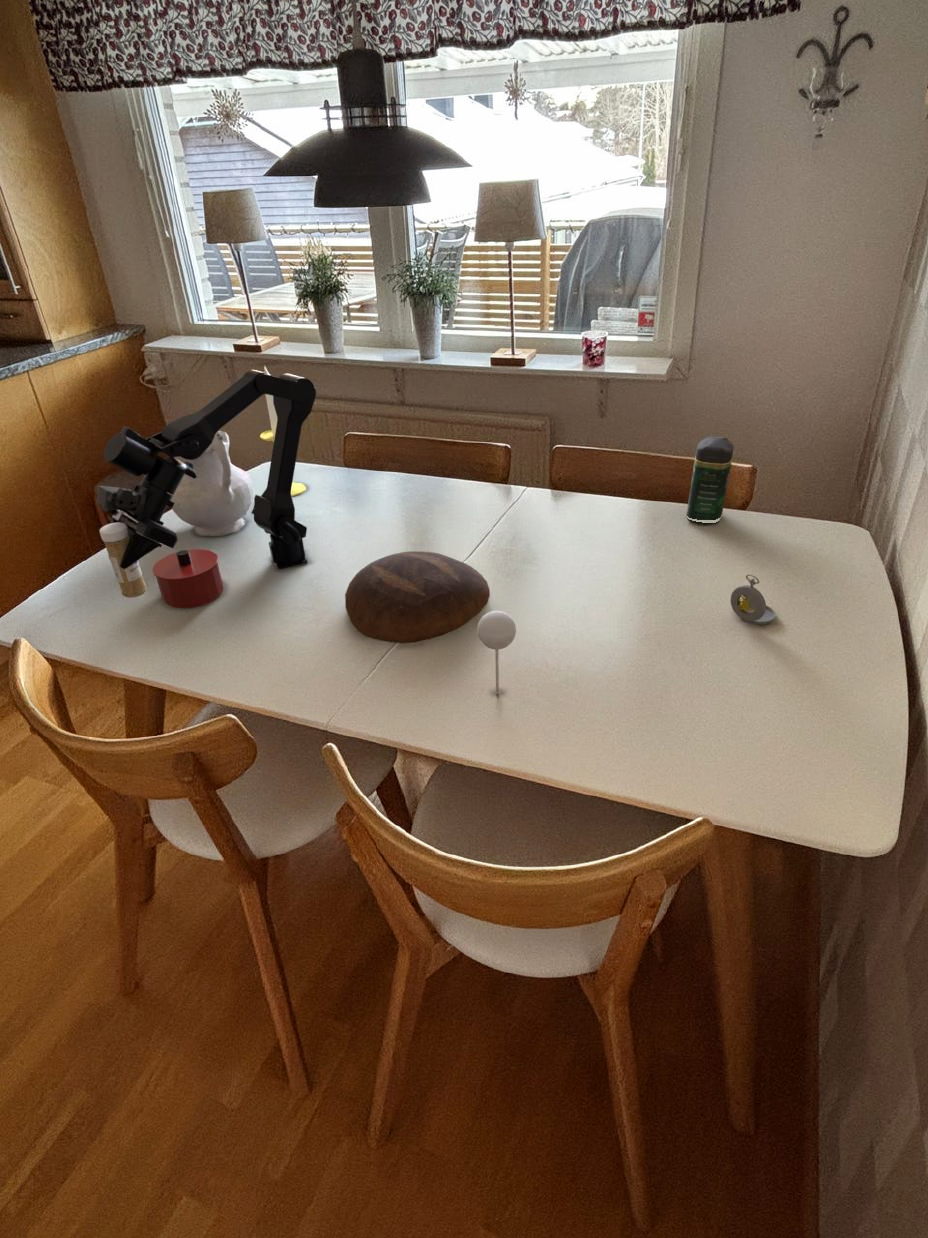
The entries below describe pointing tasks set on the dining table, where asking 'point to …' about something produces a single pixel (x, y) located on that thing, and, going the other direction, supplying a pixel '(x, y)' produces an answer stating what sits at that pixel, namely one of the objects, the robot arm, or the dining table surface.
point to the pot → (192, 590)
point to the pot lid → (185, 564)
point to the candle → (270, 436)
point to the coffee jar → (710, 479)
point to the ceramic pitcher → (214, 492)
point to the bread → (414, 597)
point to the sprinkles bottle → (116, 546)
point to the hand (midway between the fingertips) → (116, 564)
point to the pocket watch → (751, 604)
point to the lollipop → (496, 634)
